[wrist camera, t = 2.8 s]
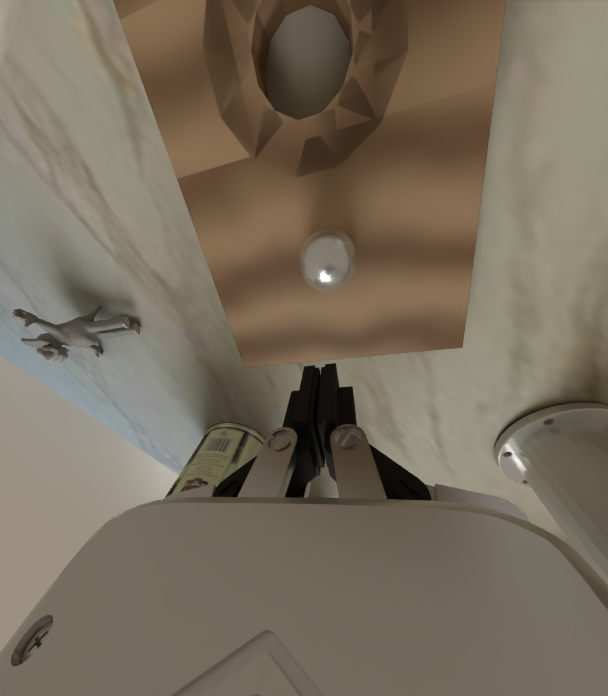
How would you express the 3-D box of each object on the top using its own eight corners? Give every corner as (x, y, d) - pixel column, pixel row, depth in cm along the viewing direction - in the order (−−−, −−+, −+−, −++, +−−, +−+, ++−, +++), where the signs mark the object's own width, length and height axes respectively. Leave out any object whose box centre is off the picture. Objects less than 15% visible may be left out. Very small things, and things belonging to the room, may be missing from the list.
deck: (450, 335, 22) (462, 347, 20) (253, 355, 26) (244, 367, 24) (510, -288, 9) (561, -442, 7) (117, -54, 14) (74, -106, 12)
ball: (353, 222, 16) (356, 222, 13) (358, 279, 18) (361, 292, 15) (298, 234, 17) (287, 237, 14) (308, 287, 19) (300, 301, 16)
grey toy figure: (158, 363, 29) (79, 379, 28) (157, 321, 31) (83, 335, 30) (95, 326, 20) (-28, 348, 19) (100, 270, 22) (-10, 287, 21)
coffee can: (234, 476, 38) (181, 598, 25) (191, 434, 34) (106, 551, 22) (285, 461, 34) (254, 596, 22) (243, 413, 31) (177, 540, 18)
